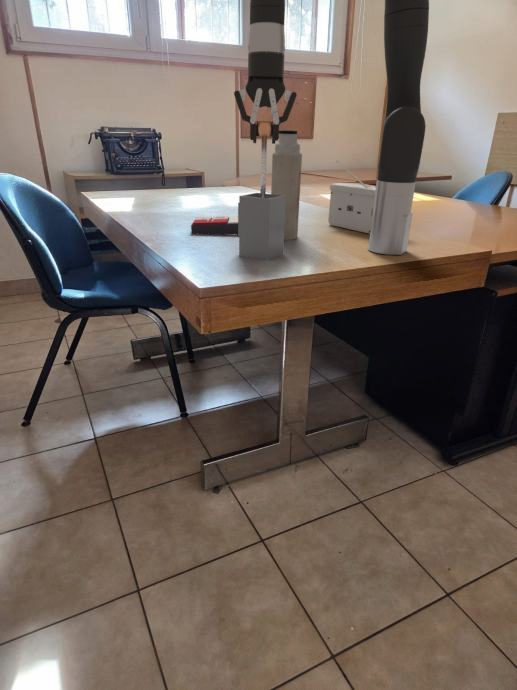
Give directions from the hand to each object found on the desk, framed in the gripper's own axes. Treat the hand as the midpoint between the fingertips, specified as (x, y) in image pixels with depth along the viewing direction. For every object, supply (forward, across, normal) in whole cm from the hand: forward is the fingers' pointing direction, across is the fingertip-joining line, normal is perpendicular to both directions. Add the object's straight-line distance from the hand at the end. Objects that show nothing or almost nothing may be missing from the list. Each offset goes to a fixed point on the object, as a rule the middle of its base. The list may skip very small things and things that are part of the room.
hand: (264, 142), depth 101 cm
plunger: (+16, 0, 0) cm, 16 cm away
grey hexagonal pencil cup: (+25, +1, -1) cm, 25 cm away
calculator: (+26, +13, -28) cm, 40 cm away
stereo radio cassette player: (+25, -31, -35) cm, 53 cm away
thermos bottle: (+25, -7, -22) cm, 34 cm away
